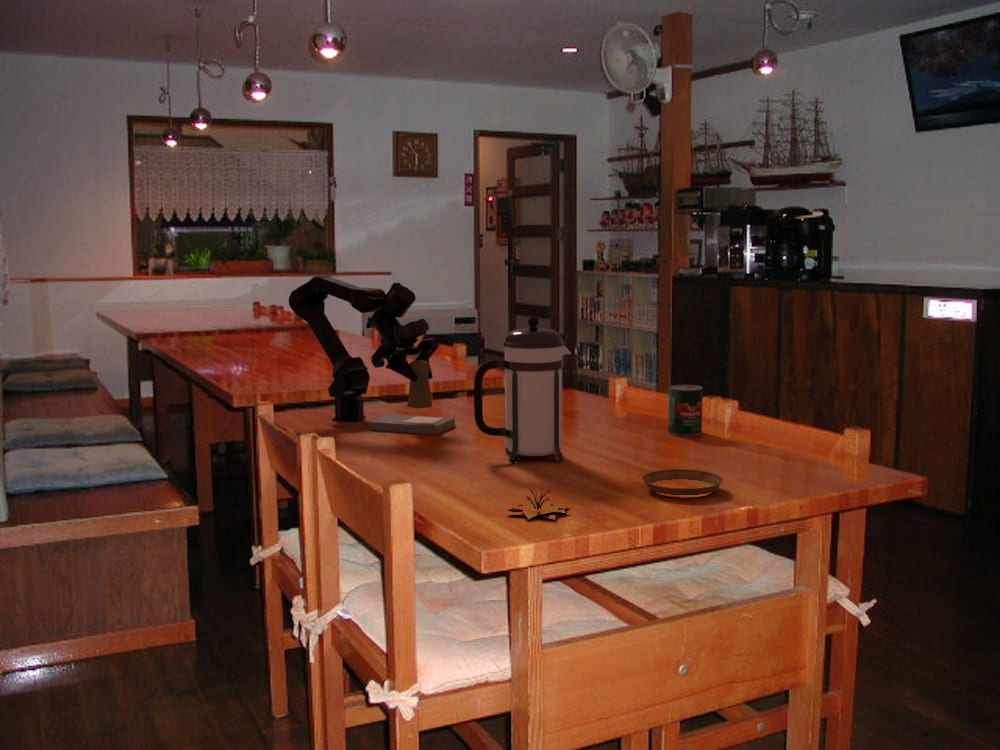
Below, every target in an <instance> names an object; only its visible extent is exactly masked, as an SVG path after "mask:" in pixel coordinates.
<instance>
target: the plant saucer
mask: <svg viewBox="0 0 1000 750" xmlns="http://www.w3.org/2000/svg"><path fill="white" fill-rule="evenodd" d="M672 479H674V480H675V479H677V480H678V479H683V480H684V479H686V480H687V479H688V480H698V481H704V482H707V483H710V484H713V485H714V486H710V487H703V488H669V487H662V486H657V485H653V484H652V483H654V482H657V481H662V480H672ZM641 480H642V481H643V483H644V484H645V486H646V487H647V488H650V489H649V490H651V491H652V490H653V491H655V492H659V493H664V494H671V495H699V494H706V493H710V492H713V491H714V492H715V491H716V490H717V489H718V488H719V487H720V486H721V485H722V484H723V482H724V478H723V477H722V476H720V475H719V474H716V473H713V472H709V471H705V470H699V469H687V468H669V469H668V468H667V469H660V470H653V471H649V472H647V473H645V474H643V475H642V476H641ZM653 491H652V492H653ZM714 492H713V493H714Z"/></svg>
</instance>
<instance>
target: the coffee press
mask: <svg viewBox="0 0 1000 750" xmlns="http://www.w3.org/2000/svg"><path fill="white" fill-rule="evenodd" d="M539 321H540V320H539V319H538V318H537V317H536V316H530V317H529V318H528V320H527V324H528V326H529V327H527V328H524V327H523V328H517V329H513V330H512V331H509V332H508V333H507V334H506V335H505V339H504V340H503V341H502V346H503V349H504V358H503V360H499V359H498V360H496V359H491V360H488V361H484V362H483V363H482V364H481V365H480V366H478V368H477V370H476V372H475V375H474V379H473V411H474V415H473V416H474V421H475V424H476V426H477V428H478V429H479V431H481V432H482V433H483V434H485V435H488V436H494V437H505V453H506V454H508V453H509V457H508V462H509V463H511V462H512V463H511V464H516V463H515V462H517V463H519V461H520V459H521V458H522V457H525V456H527V457H540V456H541V457H542V456H550V457H551V458H552V459H553V460H554V462H555V461H558V462H557V463H560V461H561V462H563V461H564V459H565V458H564V455H563V453H562V451H561V448H562V447H563V368H564V358H563V356H564V355H571V351H570V350H569V349H568V347H566V345H565V340H562V336H561V334H560V333H559V332H557V331H556V330H555V329H551V328H543V327H537V326H538V325H539ZM499 368H500V369H501V368H504V399H505V400H504V403H505V407H504V410H505V411H504V412H505V413H504V414H505V418H504V419H505V426H503V427H502V426H501V427H492V426H490V425H489V426H488V425H487V424H486V423H485V421H484V418H483V417H484V415H483V414H484V413H483V379H484V377H485V375H486V373H488V371H490V370H493V369H499Z"/></svg>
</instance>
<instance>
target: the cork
mask: <svg viewBox="0 0 1000 750" xmlns="http://www.w3.org/2000/svg"><path fill="white" fill-rule="evenodd" d="M429 363H430V362H429ZM429 363H428V362H427V361H423V360H416V361H415V360H412V361H411V362H409V365H410V367H411V368H412V370H413V372H414V373H415V375H416V377H417V381H416V382H413V381H411V380H409V389H408V395H407V396H408V398H407V403H406V407H407V408H411V409H428V408H431V407H433V403H432V396H431V389H430V382H429V380H430V379H428V373H429V372H430V367H431V364H429Z"/></svg>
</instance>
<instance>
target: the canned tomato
mask: <svg viewBox="0 0 1000 750" xmlns="http://www.w3.org/2000/svg"><path fill="white" fill-rule="evenodd" d="M703 389H704V388H703V386H701V385H696V384H673V385H670V386H668V410H667V412H668V415H667V417H668V420H667V421H668V424H667V433H668V434H669V435H671V434H672V436H676V435H686V436H685V437H690V436H689V435H697V434H700V435H702V434H701V433H702V432H703V430H702V429H703V425H702V424H703ZM697 436H698V435H697Z"/></svg>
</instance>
